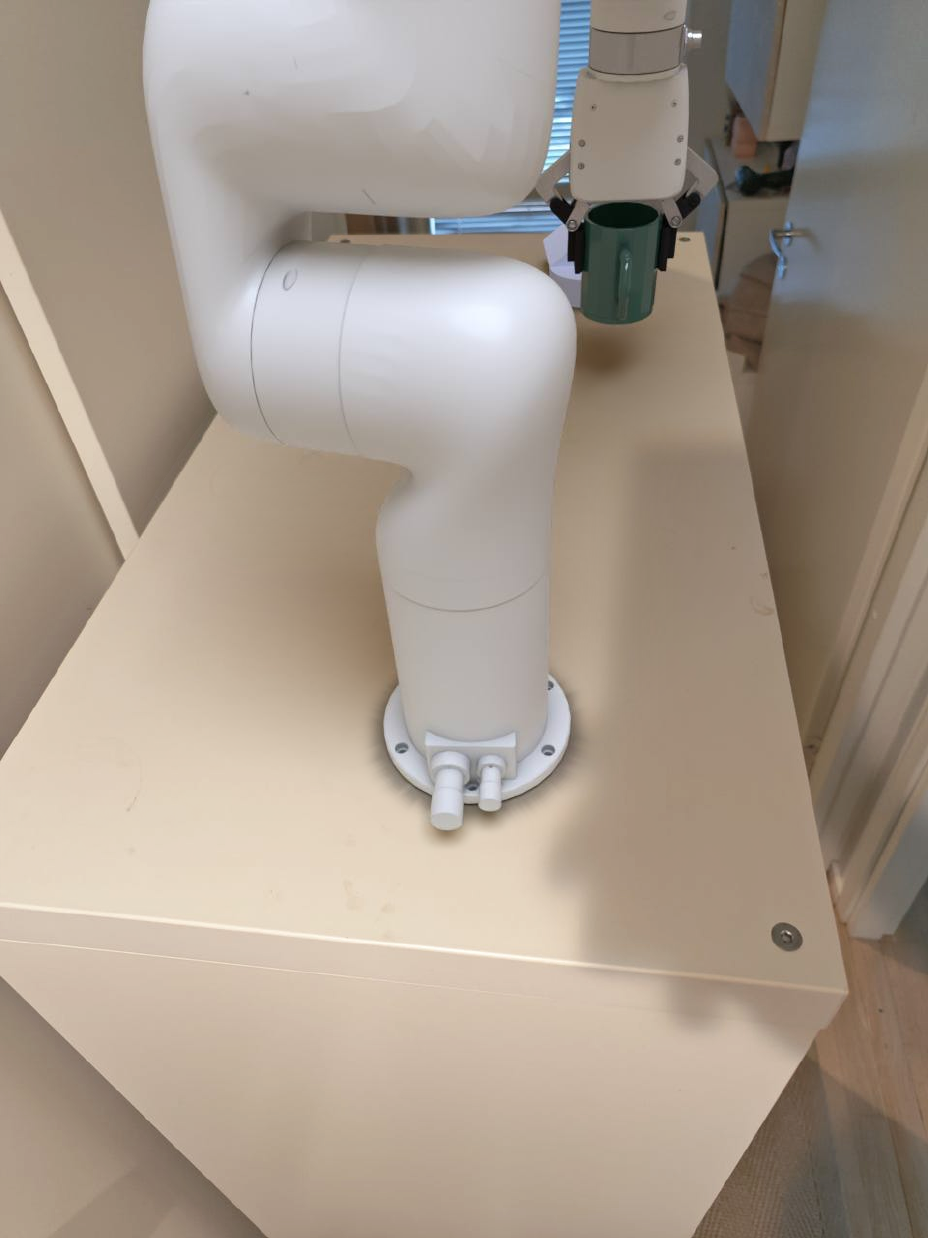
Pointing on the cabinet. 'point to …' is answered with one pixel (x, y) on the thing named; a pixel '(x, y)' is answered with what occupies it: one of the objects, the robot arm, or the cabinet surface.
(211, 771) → the cabinet surface
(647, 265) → the mug
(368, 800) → the cabinet surface
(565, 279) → the wedge on round base
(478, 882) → the cabinet surface
